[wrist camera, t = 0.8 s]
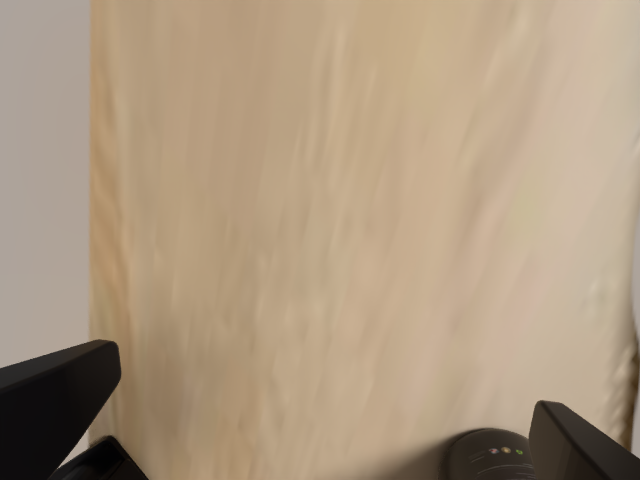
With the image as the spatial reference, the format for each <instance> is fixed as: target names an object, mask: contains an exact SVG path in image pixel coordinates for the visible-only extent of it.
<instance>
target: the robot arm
mask: <svg viewBox="0 0 640 480" xmlns="http://www.w3.org/2000/svg"><path fill="white" fill-rule="evenodd" d="M120 378H121V364H120V356H119V348H118V345H117V344H116V343H115V342H114V341H108V340H101V339H98V340H94V341H90V342H87V343H84V344H80V345H77V346H74V347H70V348H67V349H63V350H60V351H57V352H53V353H50V354H47V355H43V356H40V357H37V358H33V359H30V360H27V361H23V362H20V363H17V364H13V365H10V366H7V367H3V368H0V480H149V479H148V478H147V477H146V476H145V474H144V473H143V472H142V471H141V470H140V468H139V467H138V466H137V465H136V463H135V462H134V461H133V460H132V459H131V457H130V456H129V455H128V454H127V452H126V451H125V450H124V449H123V448H122V446H121V445H120V444H119V443H118V441H117V440H116V439H115V438H114V437H112V436H107V437H105V438H104V439H102V440H101V441H99V442H98V443H96V444H95V445H93V446H92V447H90V448H89V449H87V450H86V451H84V452H82V453H81V454H79V455H78V456H76V457H75V458H73V459H72V460H70V461H69V462H67V463H66V464H64V465H63V466H61V467H60V468H58V467H59V466H60V464H61V463H62V462H63V461H64V460H65V458H66V457H67V456H68V455H69V453H70V452H71V451H72V450H73V448H74V447H75V446H76V445H77V443H78V442H79V440H80V439H81V438H82V436H83V435H84V433H85V432H86V430H87V429H88V428H89V426H90V425H91V423H92V422H93V420H94V419H95V417H96V416H97V414H98V413H99V412H100V410H101V409H102V407H103V406H104V404H105V403H106V401H107V400H108V398H109V397H110V395H111V394H112V392H113V391H114V390H115V388H116V387H117V385H118V383H119V381H120ZM108 444H109V445H110V446H109V445H108ZM529 449H530V454H531V458H532V462H533V466H534V470H535V474H536V479H537V480H640V459H639V458H638V457H636V456H635V455H634V454H632V453H631V452H629V451H628V450H627V449H625V448H624V447H622V446H621V445H620V444H618V443H617V442H615V441H614V440H613V439H611V438H610V437H608V436H607V435H606V434H604V433H603V432H601V431H600V430H599V429H597V428H596V427H594V426H593V425H592V424H590V423H589V422H588V421H586V420H585V419H583V418H582V417H581V416H579V415H578V414H576V413H575V412H574V411H572V410H571V409H569V408H568V407H567V406H565V405H564V404H562V403H559V402H551V401H544V400H540V401H538V402H537V403H536V405H535V408H534V413H533V418H532V422H531V427H530V432H529ZM57 468H58V469H57Z"/></svg>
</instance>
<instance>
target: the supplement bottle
mask: <svg viewBox="0 0 640 480" xmlns="http://www.w3.org/2000/svg"><path fill="white" fill-rule="evenodd" d="M438 480H537V479H536V474H535V470H534V466H533V462H532V458H531V454H530V449H529V439H527V438H526V437H524V436H522V435H520V434H517V433H514V432H511V431H507V430H500V429H487V430H480V431H476V432H473V433H470V434H468V435H466V436H464V437H462V438H461V439H459V440H458V441H456V442H455V443H454V444H453V445H452V446H451V447H450V448H449V449H448V451H447V452H446V454H445V455H444V457H443V459H442V461H441V464H440V468H439V473H438Z"/></svg>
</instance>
